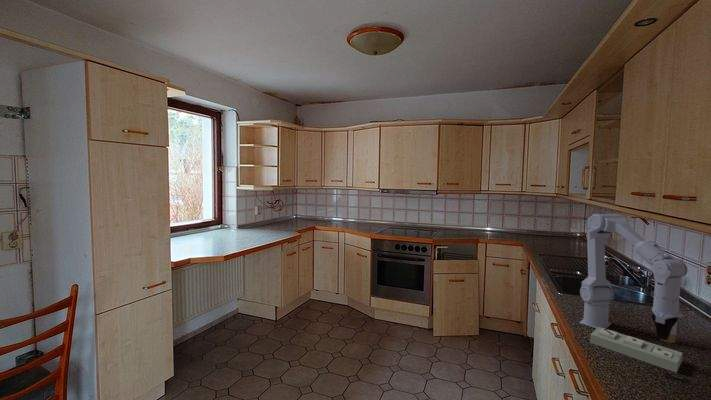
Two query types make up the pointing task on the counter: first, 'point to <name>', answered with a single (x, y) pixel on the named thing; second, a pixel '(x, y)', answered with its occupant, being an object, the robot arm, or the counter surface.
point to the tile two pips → (662, 352)
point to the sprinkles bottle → (672, 334)
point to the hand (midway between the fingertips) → (662, 338)
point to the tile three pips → (608, 333)
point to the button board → (638, 351)
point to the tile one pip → (634, 342)
